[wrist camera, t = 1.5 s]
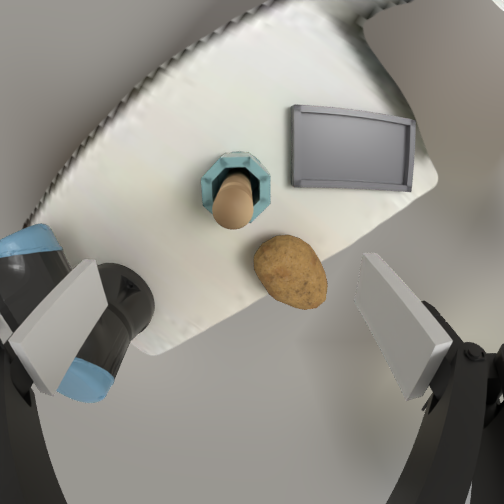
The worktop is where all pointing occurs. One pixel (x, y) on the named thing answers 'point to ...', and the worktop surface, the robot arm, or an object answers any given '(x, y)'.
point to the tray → (351, 149)
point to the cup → (257, 177)
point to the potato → (291, 272)
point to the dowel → (234, 200)
